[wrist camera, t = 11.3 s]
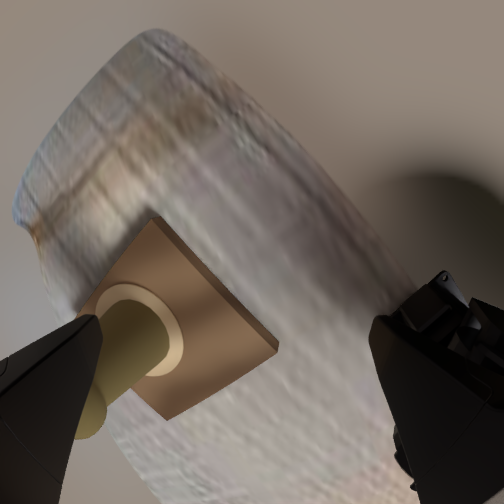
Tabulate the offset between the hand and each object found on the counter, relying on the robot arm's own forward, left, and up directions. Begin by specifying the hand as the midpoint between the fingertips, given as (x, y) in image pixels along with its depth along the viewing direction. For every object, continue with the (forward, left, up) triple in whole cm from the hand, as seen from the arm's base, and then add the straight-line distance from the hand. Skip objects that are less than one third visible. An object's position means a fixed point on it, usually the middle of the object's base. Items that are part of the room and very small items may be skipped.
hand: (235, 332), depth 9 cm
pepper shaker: (+2, +13, -11) cm, 17 cm away
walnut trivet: (+1, +12, -12) cm, 17 cm away
